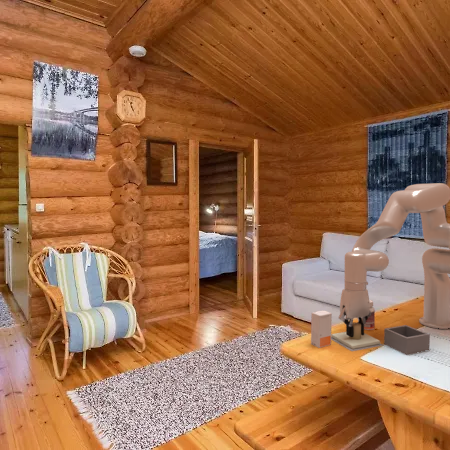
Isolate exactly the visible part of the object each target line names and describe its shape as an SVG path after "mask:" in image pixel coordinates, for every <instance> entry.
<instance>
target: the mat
mask: <svg viewBox="0 0 450 450" xmlns="http://www.w3.org/2000/svg"><path fill="white" fill-rule="evenodd" d="M331 341H333V342H335V343H336V344H339V346H341V347H343V348H345V349H347V350H348V351H350V352H357V351H361V350H362V351H363V350H368V349H371V348H373V349H374V348H378V347H382V346H385V344H382V343H380V344H376V345H371V346H366V347H360V348H355V349H352V348H350V347H348V346H347V345H345V344H343V343H341V342H340V341H338V340H336V339H334V338H333V337H331Z"/></svg>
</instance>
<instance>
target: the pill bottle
mask: <svg viewBox="0 0 450 450" xmlns="http://www.w3.org/2000/svg"><path fill="white" fill-rule="evenodd" d="M369 305H370V311H371V313H372V315H371V316H370V317H369V318H368V319H367V321H366V324H364V331H365V330H367V331H373V330H375V325H376V323H375V322H376V321H375V319H376V318H375V316H376V315H375V314H376V313H375V308H374V301H373V300H371V299H369Z"/></svg>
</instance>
